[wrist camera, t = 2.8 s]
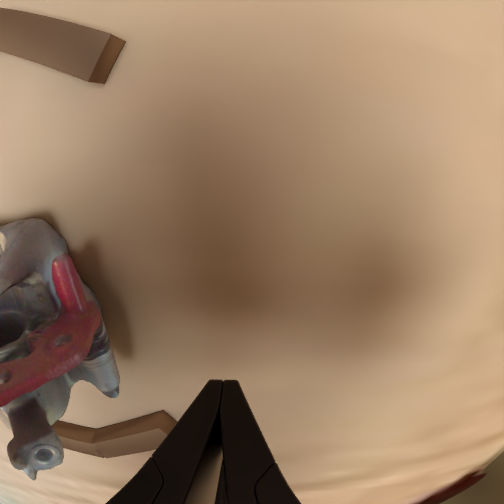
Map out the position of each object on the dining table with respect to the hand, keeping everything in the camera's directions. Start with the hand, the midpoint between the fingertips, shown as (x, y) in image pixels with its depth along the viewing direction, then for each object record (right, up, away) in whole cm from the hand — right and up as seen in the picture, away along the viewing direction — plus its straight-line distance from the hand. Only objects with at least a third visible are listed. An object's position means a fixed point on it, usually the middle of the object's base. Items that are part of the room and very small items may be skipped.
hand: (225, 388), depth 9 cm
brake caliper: (-11, +2, +6) cm, 13 cm away
